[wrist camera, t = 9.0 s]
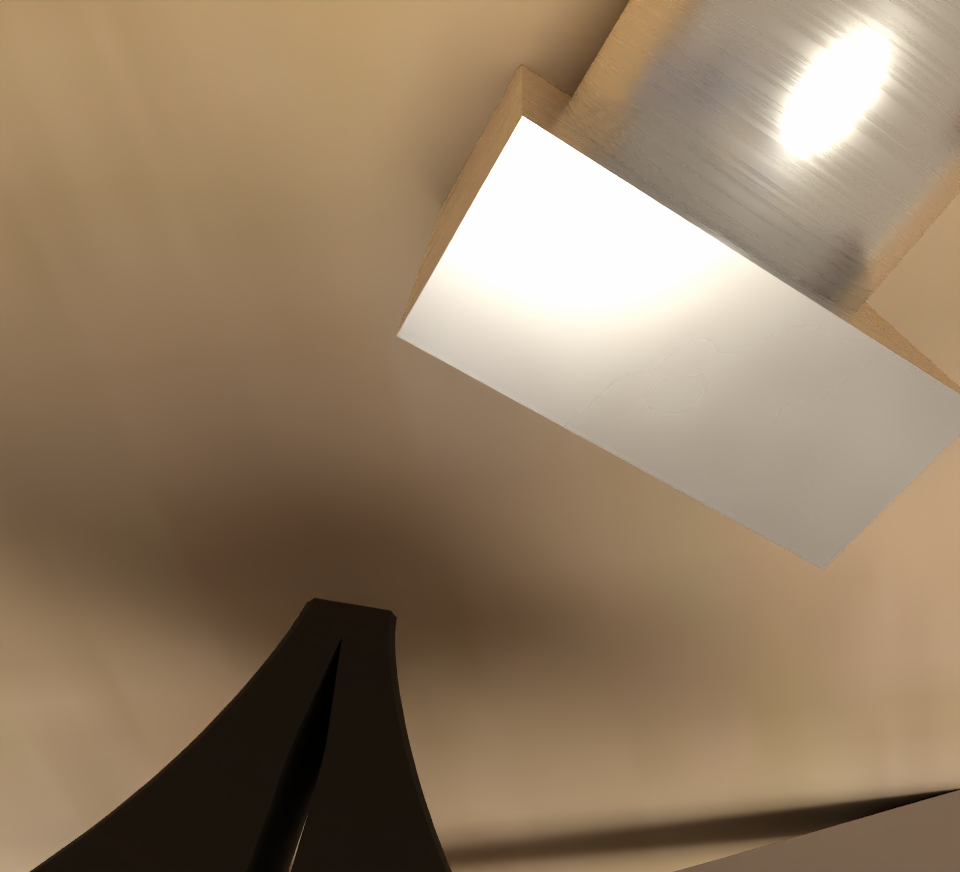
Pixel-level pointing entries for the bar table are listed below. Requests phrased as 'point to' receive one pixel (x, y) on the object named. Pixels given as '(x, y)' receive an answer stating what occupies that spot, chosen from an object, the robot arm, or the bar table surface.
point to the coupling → (717, 254)
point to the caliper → (864, 844)
